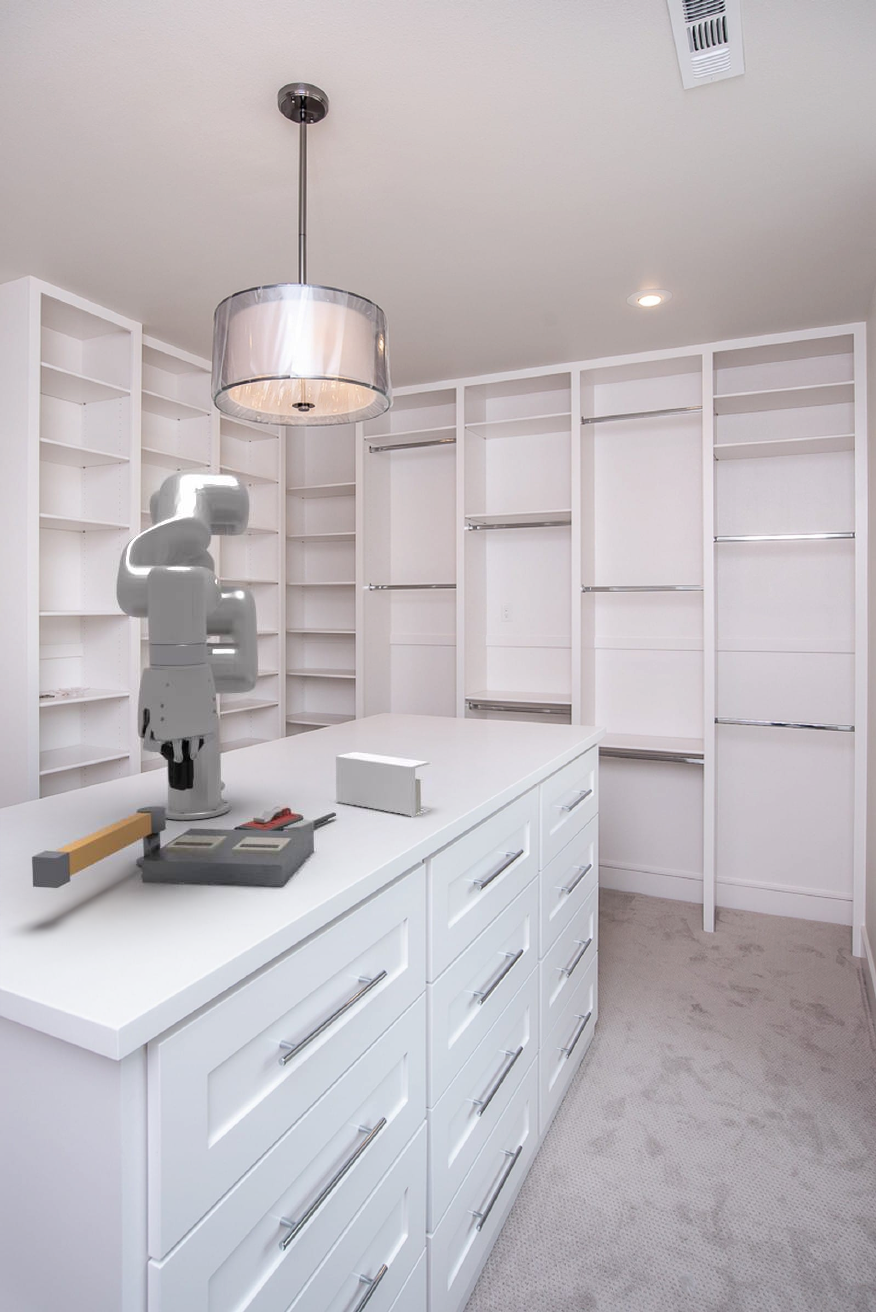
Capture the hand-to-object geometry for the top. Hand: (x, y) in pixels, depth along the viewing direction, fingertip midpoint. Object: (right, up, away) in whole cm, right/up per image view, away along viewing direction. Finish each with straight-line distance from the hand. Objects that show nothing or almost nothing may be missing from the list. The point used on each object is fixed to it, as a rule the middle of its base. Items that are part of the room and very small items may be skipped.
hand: (181, 787), depth 107 cm
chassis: (+5, -13, +7) cm, 15 cm away
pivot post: (-7, -13, +8) cm, 16 cm away
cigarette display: (+24, -11, +41) cm, 49 cm away
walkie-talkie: (+10, -12, +24) cm, 29 cm away
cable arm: (-9, -8, -3) cm, 13 cm away
